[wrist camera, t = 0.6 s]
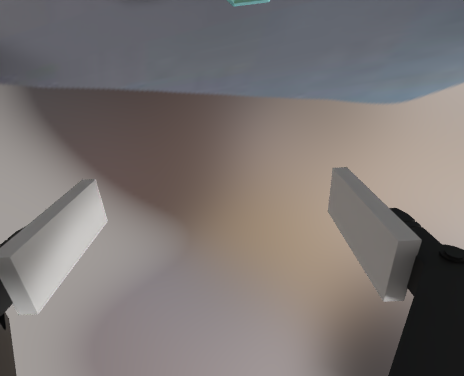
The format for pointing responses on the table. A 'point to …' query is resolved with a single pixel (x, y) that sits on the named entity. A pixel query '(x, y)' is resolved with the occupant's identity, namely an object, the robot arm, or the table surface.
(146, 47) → the table surface
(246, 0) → the cup
